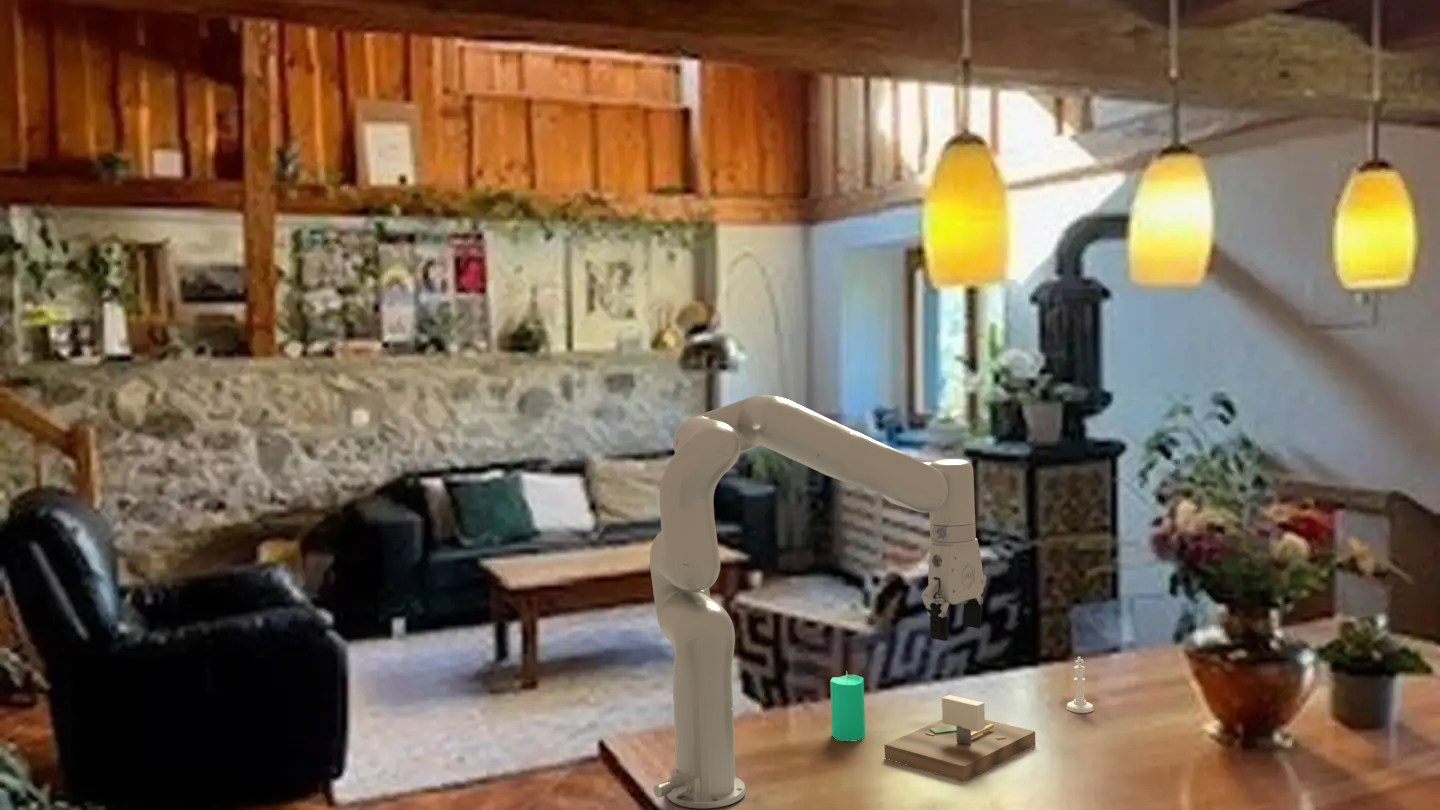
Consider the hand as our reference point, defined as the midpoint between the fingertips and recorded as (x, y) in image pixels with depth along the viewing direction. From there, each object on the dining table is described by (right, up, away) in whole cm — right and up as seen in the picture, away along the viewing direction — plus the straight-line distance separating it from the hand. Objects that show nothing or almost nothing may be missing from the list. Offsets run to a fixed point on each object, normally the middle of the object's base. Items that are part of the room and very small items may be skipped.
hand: (956, 633), depth 206 cm
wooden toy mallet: (+4, -18, +4) cm, 19 cm away
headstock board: (+2, -21, +4) cm, 22 cm away
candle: (-17, -22, +14) cm, 31 cm away
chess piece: (+28, -19, +25) cm, 42 cm away
